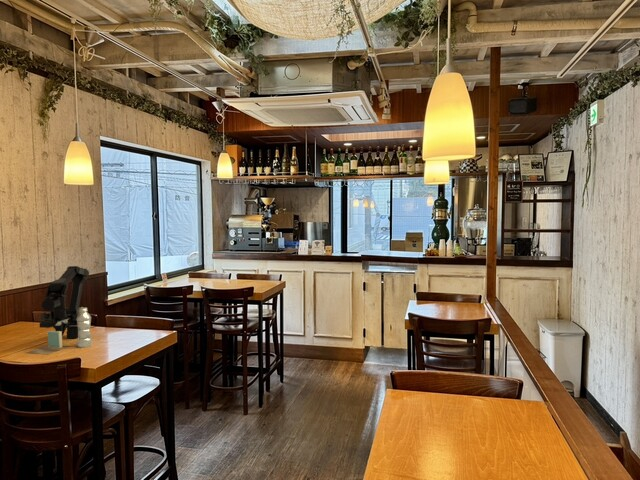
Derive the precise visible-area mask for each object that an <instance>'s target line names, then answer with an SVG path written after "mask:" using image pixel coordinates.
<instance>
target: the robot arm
mask: <svg viewBox="0 0 640 480" xmlns="http://www.w3.org/2000/svg"><path fill="white" fill-rule="evenodd" d="M89 276H90V271H89V270H88V269H87V268H83V267H80V266H78V265H75V266H74V265H73V266H72V265H69V266H67V267H66V270H65V271H64V272H63V273H62V275H60V277H59V278H58V279H54V280H53V281H51V282H50V283H49V285H48V287H47V289H46V295H45V299H44V300H43V302H42V304H41V307H42V309H43V310H44V311H46V312H42V313H40V314H39V315H40V320H41V321H40V322H39V328H40V329H41V328H45V329H49V328H52V329H54V331H62V337H63V336H64V334H65V331H66V337H65V338H64V339H66V340H78V326H77V321H76V318H77V316H78V314H79V313H80V312H79V308H80V305H81V300H82V299H81V298H82V294H83V293H82V292H83V286H84V284H85V283H87V282H88V278H89ZM70 282H72V288H71V294H70V300H69V304H68V305H69V306H68V307H66V297H67V291H68V290H69V289H68V288H69V283H70ZM47 312H49V313H47Z"/></svg>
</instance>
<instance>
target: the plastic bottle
mask: <svg viewBox="0 0 640 480" xmlns="http://www.w3.org/2000/svg"><path fill="white" fill-rule="evenodd" d="M88 311H89V310H88V307H86V306H85V307H83V306H81V307H79V312H80V313H79V314H78V316H77V318H76V321H77V326H78V338H77V339H76V340H77V342H76V345H77V347H78V348H80V349H84V348H89V347H92V345H93V339H92V338H93V337H92V333H91V323H92V315H91V314H89V312H88Z"/></svg>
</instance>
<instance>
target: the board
mask: <svg viewBox="0 0 640 480" xmlns="http://www.w3.org/2000/svg"><path fill="white" fill-rule="evenodd" d="M70 347H72V345H63V344H62V347H61V348H53V347H48V344H47V345H44V346H42V347H38V348H35V349H32V350H30V351H27V352H25V354H28V355H29V354H31V355H44V356H49V355H52V354H54V353H57V352H60V351H62V350H65V349H68V348H70Z"/></svg>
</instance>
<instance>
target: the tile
mask: <svg viewBox="0 0 640 480" xmlns="http://www.w3.org/2000/svg"><path fill="white" fill-rule="evenodd" d="M47 345H48V347H53V348H61V347H62V345H63V336H62V331H56V330H48V331H47Z"/></svg>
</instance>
